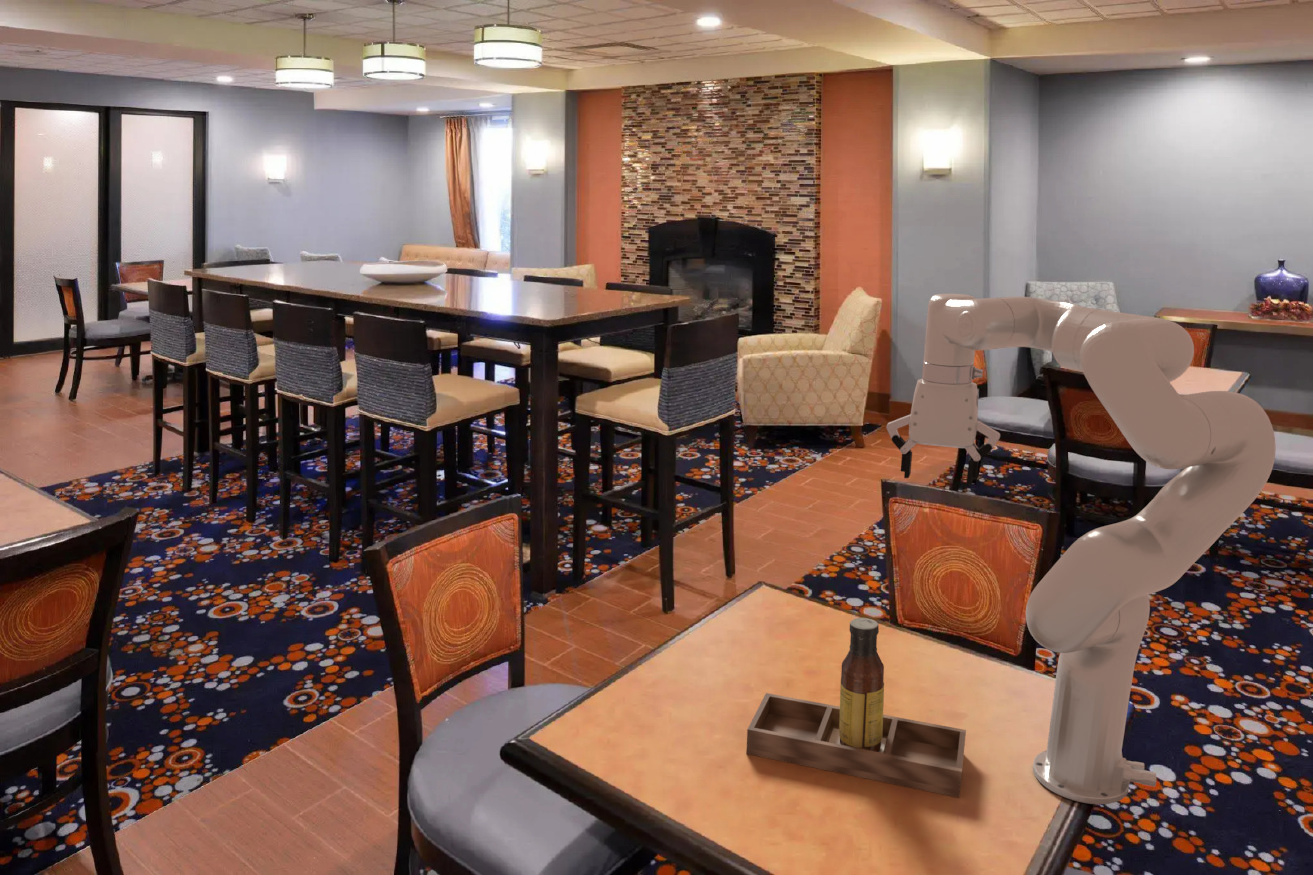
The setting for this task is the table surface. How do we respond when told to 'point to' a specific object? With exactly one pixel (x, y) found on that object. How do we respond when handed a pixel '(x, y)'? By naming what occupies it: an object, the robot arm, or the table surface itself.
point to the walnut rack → (814, 741)
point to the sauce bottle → (862, 689)
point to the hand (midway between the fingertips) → (938, 479)
